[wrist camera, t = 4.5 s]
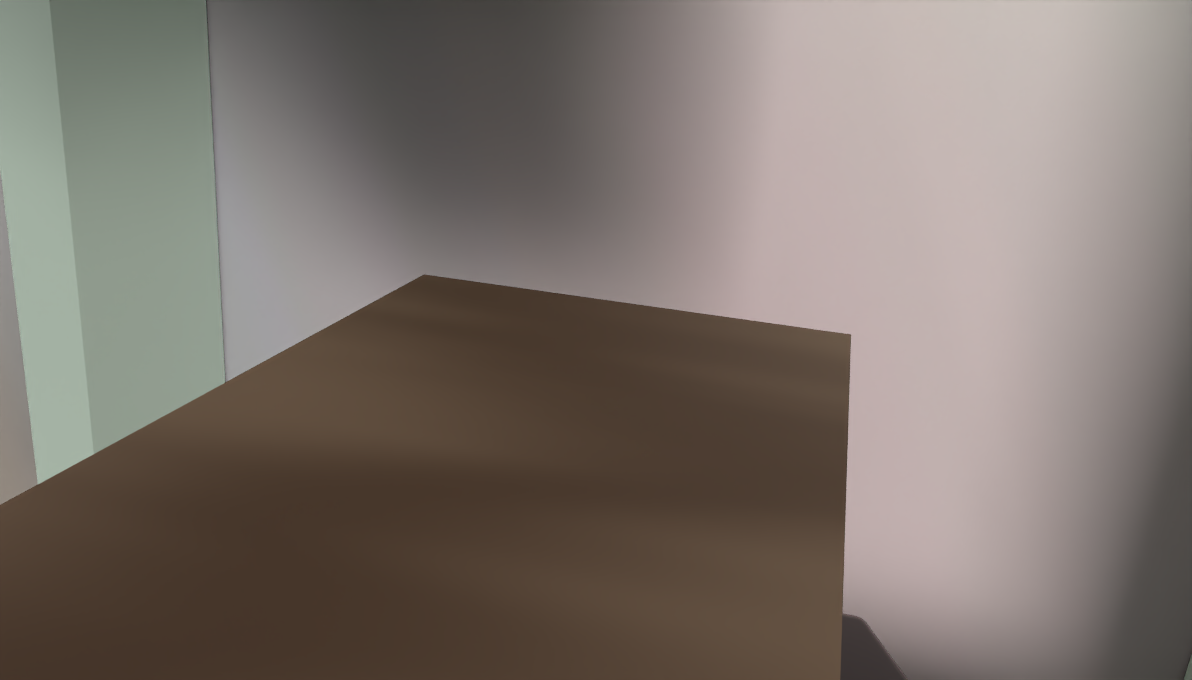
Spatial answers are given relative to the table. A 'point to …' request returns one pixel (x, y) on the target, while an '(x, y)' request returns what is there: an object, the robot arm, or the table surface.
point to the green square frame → (110, 216)
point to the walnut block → (459, 506)
